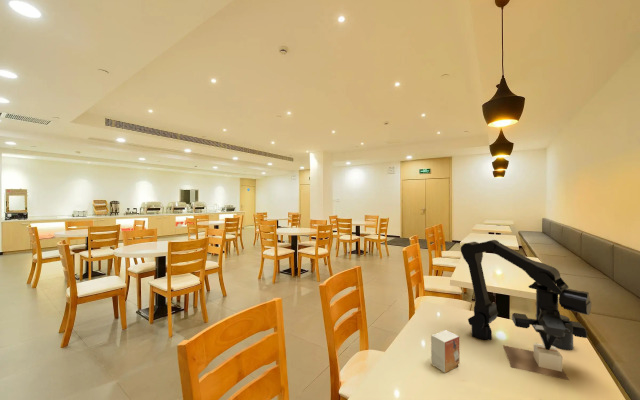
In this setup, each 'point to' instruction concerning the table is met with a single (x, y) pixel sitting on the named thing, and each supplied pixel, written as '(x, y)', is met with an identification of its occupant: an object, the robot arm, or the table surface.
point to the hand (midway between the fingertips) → (547, 349)
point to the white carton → (547, 357)
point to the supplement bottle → (564, 339)
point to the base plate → (529, 362)
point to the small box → (445, 350)
